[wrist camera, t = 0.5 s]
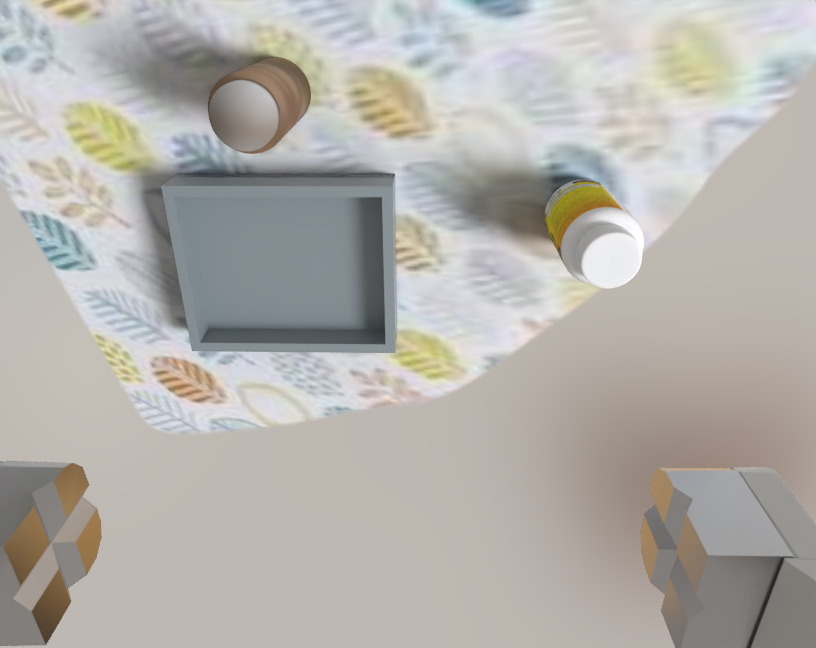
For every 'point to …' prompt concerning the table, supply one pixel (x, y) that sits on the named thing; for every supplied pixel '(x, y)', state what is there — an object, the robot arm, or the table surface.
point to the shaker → (258, 104)
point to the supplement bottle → (594, 234)
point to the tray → (286, 261)
